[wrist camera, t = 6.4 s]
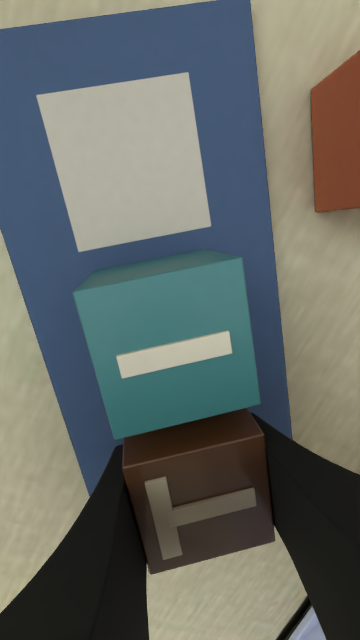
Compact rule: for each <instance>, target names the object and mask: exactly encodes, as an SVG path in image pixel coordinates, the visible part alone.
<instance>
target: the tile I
mask: <svg viewBox="0 0 360 640" xmlns="http://www.w3.org/2000/svg"><path fill="white" fill-rule="evenodd" d="M73 297H74V301H75V304H76V308H77V311H78V315H79V318H80V322H81V325H82V329H83V332H84V336H85V339H86V343H87V346H88V350H89V353H90V357H91V360H92V363H93V367H94V370H95V374H96V377H97V381H98V384H99V388H100V391H101V395H102V398H103V402H104V405H105V409H106V412H107V416H108V419H109V423H110V426H111V430H112V433H113V437H114V439H115V440H117V439H121V438H125V437H129V436H134V435H138V434H142V433H146V432H150V431H154V430H158V429H162V428H166V427H170V426H174V425H178V424H182V423H187V422H191V421H195V420H199V419H203V418H207V417H211V416H215V415H219V414H223V413H227V412H231V411H235V410H240V409H244V408H248V407H252V406H256V405H260V403H261V402H260V394H259V386H258V378H257V370H256V362H255V354H254V346H253V338H252V330H251V322H250V314H249V306H248V298H247V290H246V282H245V274H244V266H243V259H242V257H238V256H234V255H230V254H225V253H221V252H217V251H213V250H208V249H201V250H196V251H191V252H186V253H181V254H176V255H171V256H166V257H161V258H156V259H151V260H146V261H141V262H136V263H131V264H126V265H121V266H116V267H111V268H106V269H101V270H96V271H93V272H92V273H91V274H90V275H89V276H88V277H87V278H86V279H85V280H84V281H83V282H82V283H81V284H80V285H79V286H78V287H77V288H76V289H75V290H74V291H73Z"/></svg>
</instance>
